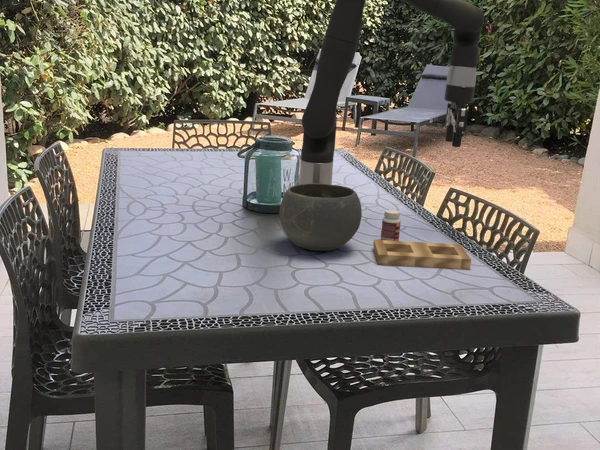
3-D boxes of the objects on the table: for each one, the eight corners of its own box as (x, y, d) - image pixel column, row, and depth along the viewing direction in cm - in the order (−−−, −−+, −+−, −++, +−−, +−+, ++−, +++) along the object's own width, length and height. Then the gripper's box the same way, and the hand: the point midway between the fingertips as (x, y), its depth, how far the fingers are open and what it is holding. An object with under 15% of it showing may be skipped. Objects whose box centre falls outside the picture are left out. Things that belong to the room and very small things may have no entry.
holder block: (377, 264, 165) (378, 254, 164) (373, 249, 176) (373, 239, 176) (470, 269, 165) (471, 259, 164) (459, 253, 177) (460, 244, 176)
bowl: (369, 244, 180) (374, 187, 176) (340, 266, 162) (345, 204, 158) (299, 231, 188) (302, 177, 184) (264, 251, 170) (266, 191, 166)
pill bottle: (398, 245, 181) (401, 214, 178) (379, 243, 181) (382, 212, 179) (399, 240, 185) (402, 210, 183) (381, 238, 186) (384, 208, 184)
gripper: (441, 80, 192) (433, 139, 196) (452, 85, 178) (444, 147, 182) (468, 82, 192) (460, 140, 196) (481, 87, 178) (472, 149, 183)
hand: (452, 144), depth 189 cm, fingers open, 8 cm apart
